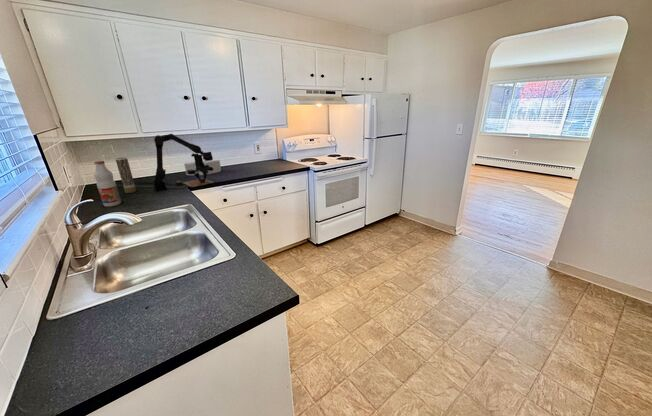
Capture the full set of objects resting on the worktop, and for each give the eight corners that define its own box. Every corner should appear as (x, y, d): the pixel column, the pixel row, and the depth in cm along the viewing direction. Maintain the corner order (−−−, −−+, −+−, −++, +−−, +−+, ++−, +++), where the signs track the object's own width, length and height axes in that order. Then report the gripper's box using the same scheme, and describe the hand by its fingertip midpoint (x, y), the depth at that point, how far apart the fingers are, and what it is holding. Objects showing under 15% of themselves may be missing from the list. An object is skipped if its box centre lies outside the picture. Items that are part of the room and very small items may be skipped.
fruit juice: (125, 202, 176) (112, 160, 165) (109, 207, 167) (95, 163, 157) (115, 201, 179) (102, 159, 168) (100, 205, 171) (85, 162, 160)
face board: (191, 187, 207) (191, 186, 207) (182, 183, 219) (182, 182, 218) (214, 182, 219) (213, 181, 219) (204, 178, 231) (204, 177, 230)
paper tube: (130, 193, 193) (120, 159, 184) (123, 193, 195) (112, 159, 186) (138, 190, 200) (129, 157, 191) (131, 190, 201) (121, 157, 192)
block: (186, 173, 249) (183, 162, 245) (220, 169, 262) (218, 159, 259) (187, 177, 237) (184, 165, 233) (222, 172, 250) (220, 161, 246)
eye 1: (177, 186, 211) (176, 182, 210) (175, 185, 213) (174, 181, 212) (182, 185, 213) (182, 181, 212) (181, 184, 216) (180, 180, 215)
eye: (201, 183, 215) (200, 179, 214) (199, 182, 217) (198, 178, 216) (206, 182, 217) (205, 178, 216) (204, 181, 220) (203, 177, 219)
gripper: (191, 164, 200) (194, 184, 205) (215, 161, 212) (218, 180, 218) (185, 162, 207) (189, 182, 212) (208, 159, 220) (211, 177, 225)
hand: (202, 180), depth 217 cm, fingers closed on eye, 4 cm apart
